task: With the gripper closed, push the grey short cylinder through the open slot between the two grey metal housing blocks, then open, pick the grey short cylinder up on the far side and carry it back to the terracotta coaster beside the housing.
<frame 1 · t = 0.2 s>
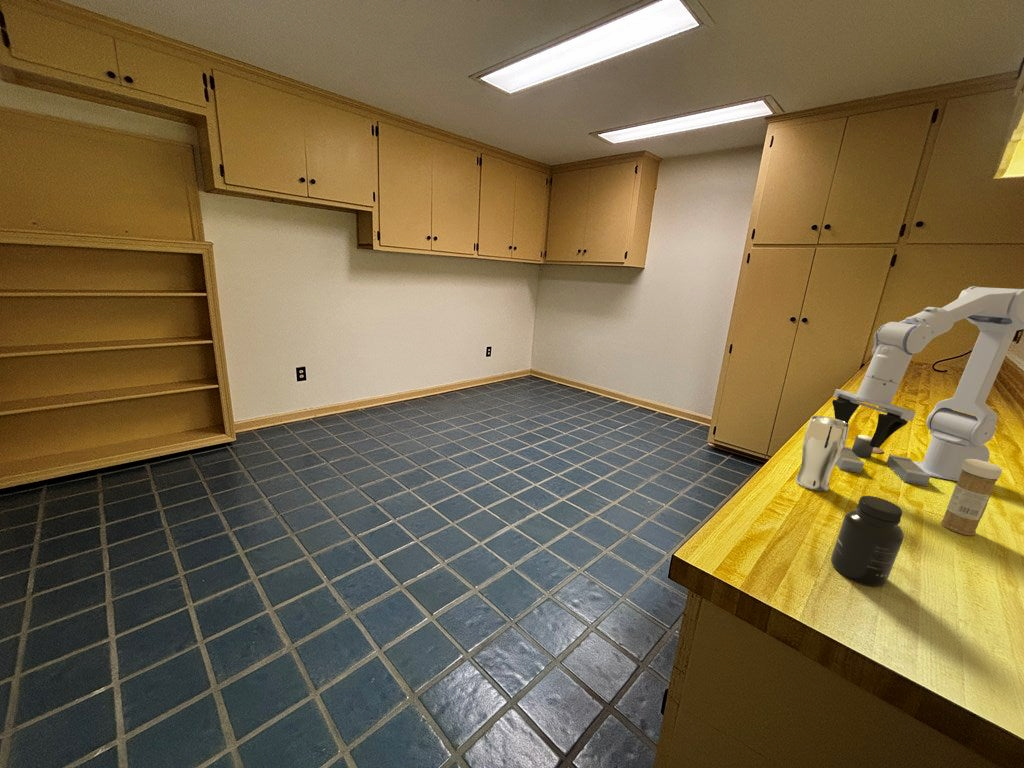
hand: (855, 439, 89), 11 cm above the countertop, tool pointing down, fingers open, 7 cm apart
beer glass: (811, 485, 90), on the countertop
grey short cylinder: (860, 455, 107), on the countertop
housing: (873, 469, 99), on the countertop
coaster: (867, 448, 112), on the countertop
sprinkles bottle: (956, 529, 76), on the countertop
supplement bottle: (856, 573, 63), on the countertop
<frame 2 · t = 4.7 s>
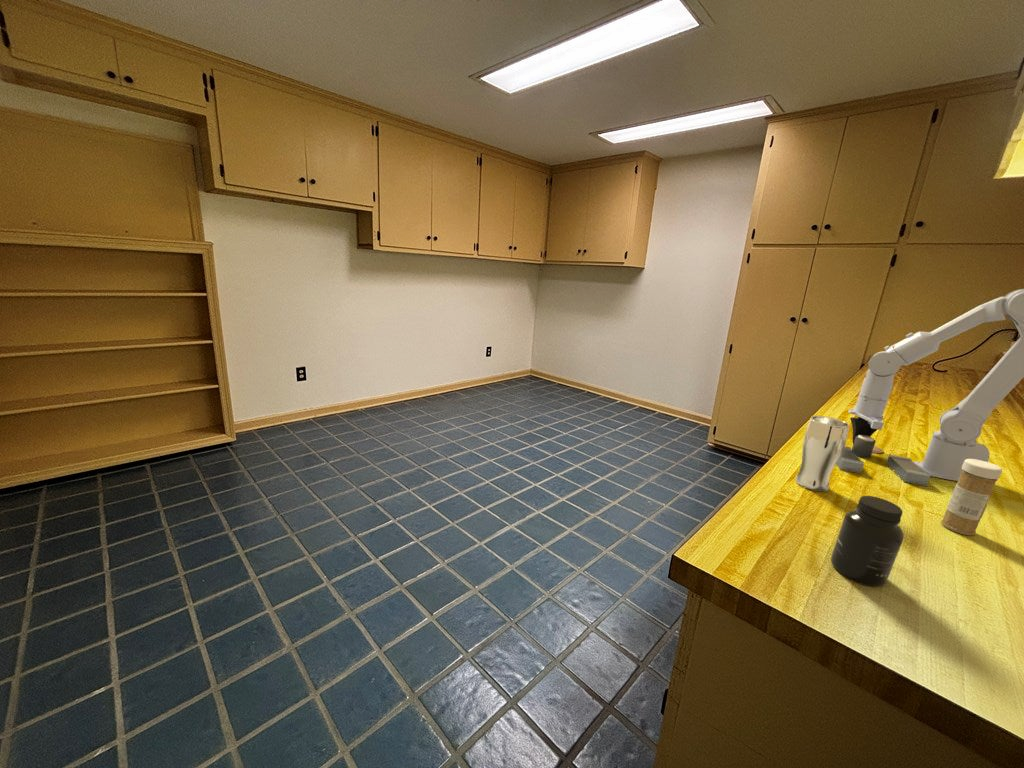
hand: (857, 445, 110), 1 cm above the countertop, tool pointing down, fingers closed, pressing on grey short cylinder
grey short cylinder: (860, 454, 107), on the countertop, touching gripper
everything else where it was.
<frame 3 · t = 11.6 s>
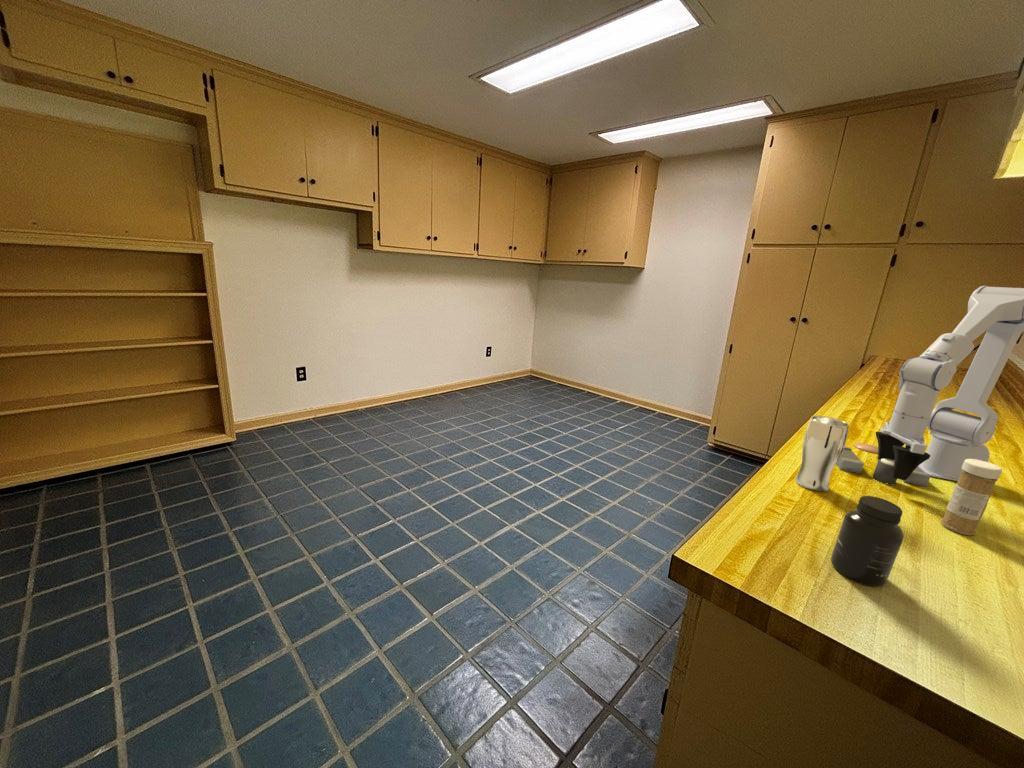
hand: (891, 471, 91), 3 cm above the countertop, tool pointing down, fingers open, 7 cm apart
grey short cylinder: (883, 481, 94), on the countertop
everything else where it was.
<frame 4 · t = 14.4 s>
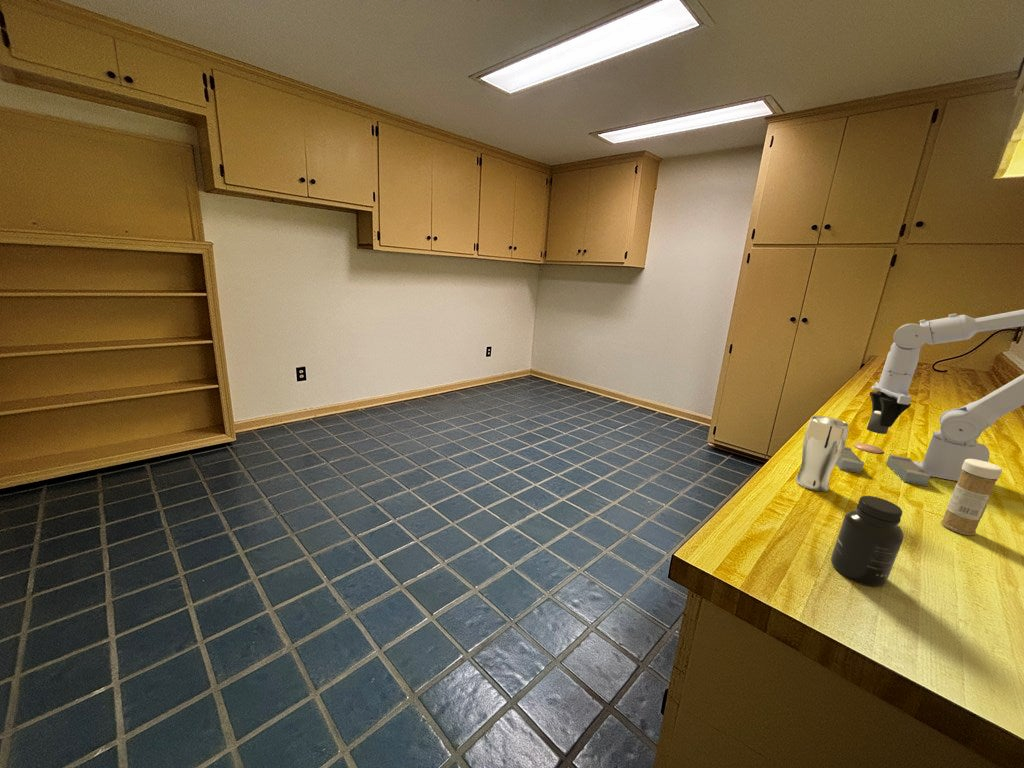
hand: (881, 423, 105), 9 cm above the countertop, tool pointing down, fingers closed on grey short cylinder, 4 cm apart
grey short cylinder: (876, 431, 106), point 7 cm above the countertop, touching gripper
everything else where it was.
when the fingers open (3 cm above the countertop, at t = 16.4 s): grey short cylinder stays where it is, resting on coaster.
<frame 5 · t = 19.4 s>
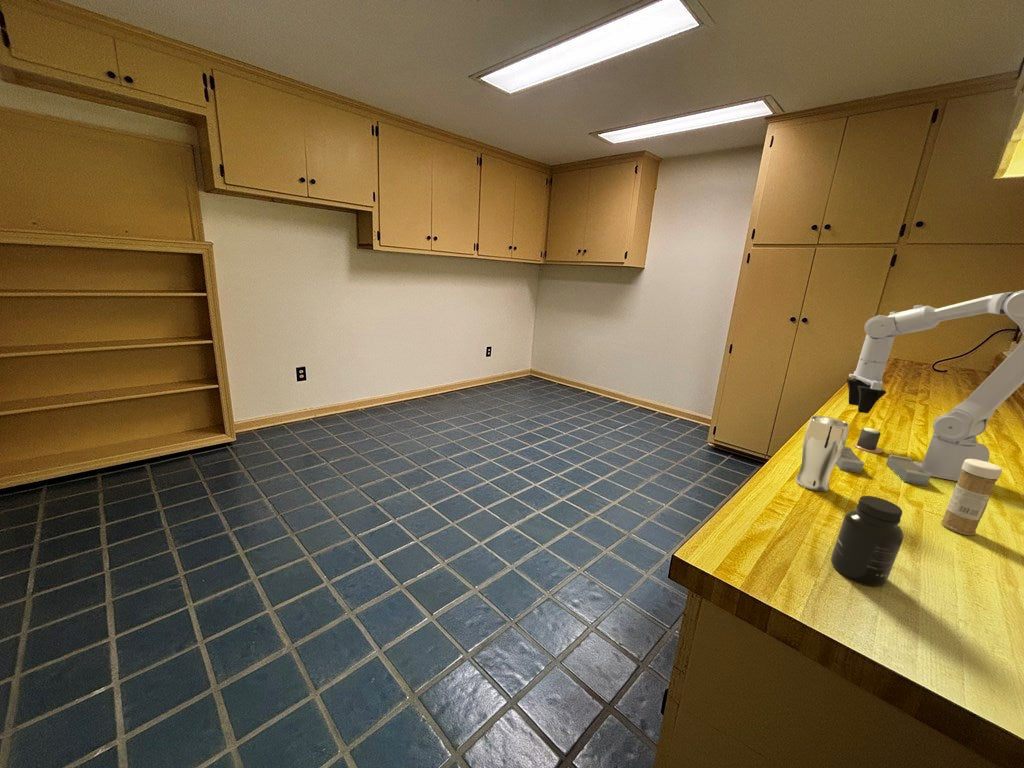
hand: (858, 408, 113), 10 cm above the countertop, tool pointing down, fingers open, 7 cm apart
grey short cylinder: (866, 446, 112), resting on coaster
everything else where it was.
at the end: grey short cylinder inside the target area (0.5 cm from its centre), resting on coaster; grey short cylinder tilted 0° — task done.
